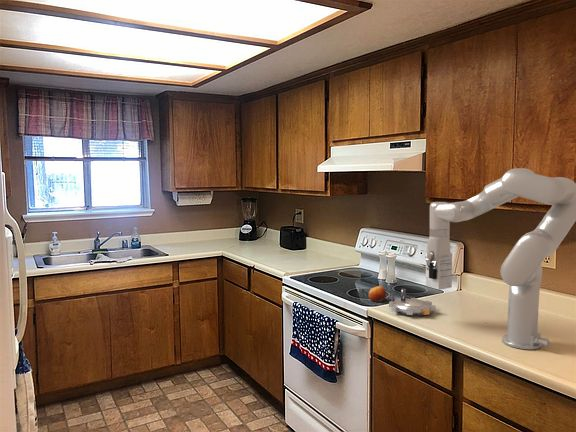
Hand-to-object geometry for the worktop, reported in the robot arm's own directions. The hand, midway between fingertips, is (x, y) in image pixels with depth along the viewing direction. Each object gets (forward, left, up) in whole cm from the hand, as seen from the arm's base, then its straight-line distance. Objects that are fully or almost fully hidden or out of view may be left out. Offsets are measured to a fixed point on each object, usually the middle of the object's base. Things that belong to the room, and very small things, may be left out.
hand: (439, 276), depth 185 cm
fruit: (+36, -6, -19) cm, 42 cm away
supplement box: (0, 0, -4) cm, 4 cm away
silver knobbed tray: (+15, -4, -17) cm, 24 cm away
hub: (+15, -4, -19) cm, 25 cm away
